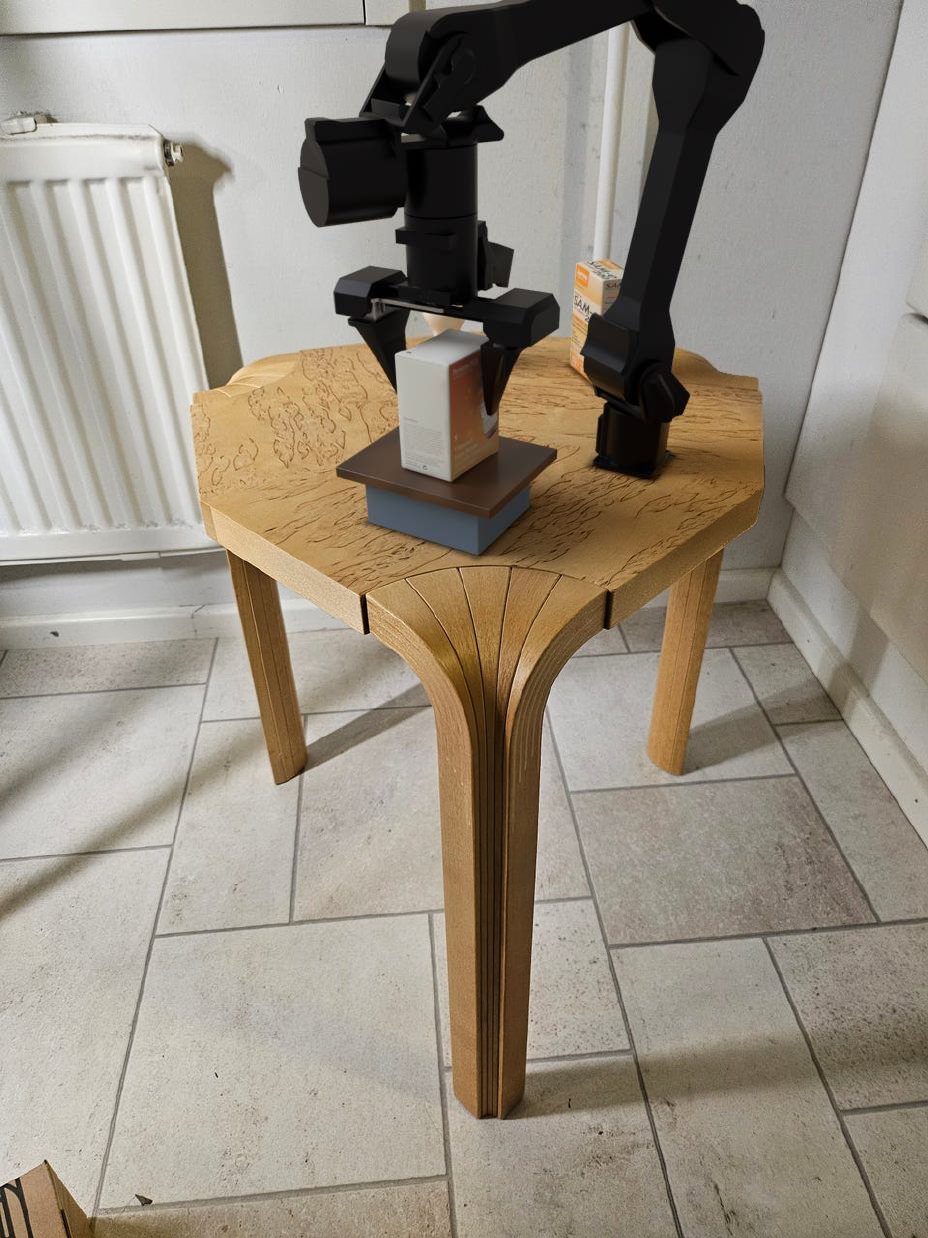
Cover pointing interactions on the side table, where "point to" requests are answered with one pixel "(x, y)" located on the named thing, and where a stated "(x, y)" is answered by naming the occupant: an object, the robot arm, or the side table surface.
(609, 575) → the side table surface
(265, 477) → the side table surface
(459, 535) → the blue box
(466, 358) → the small box
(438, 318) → the lightbulb
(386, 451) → the wooden board
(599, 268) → the supplement box
